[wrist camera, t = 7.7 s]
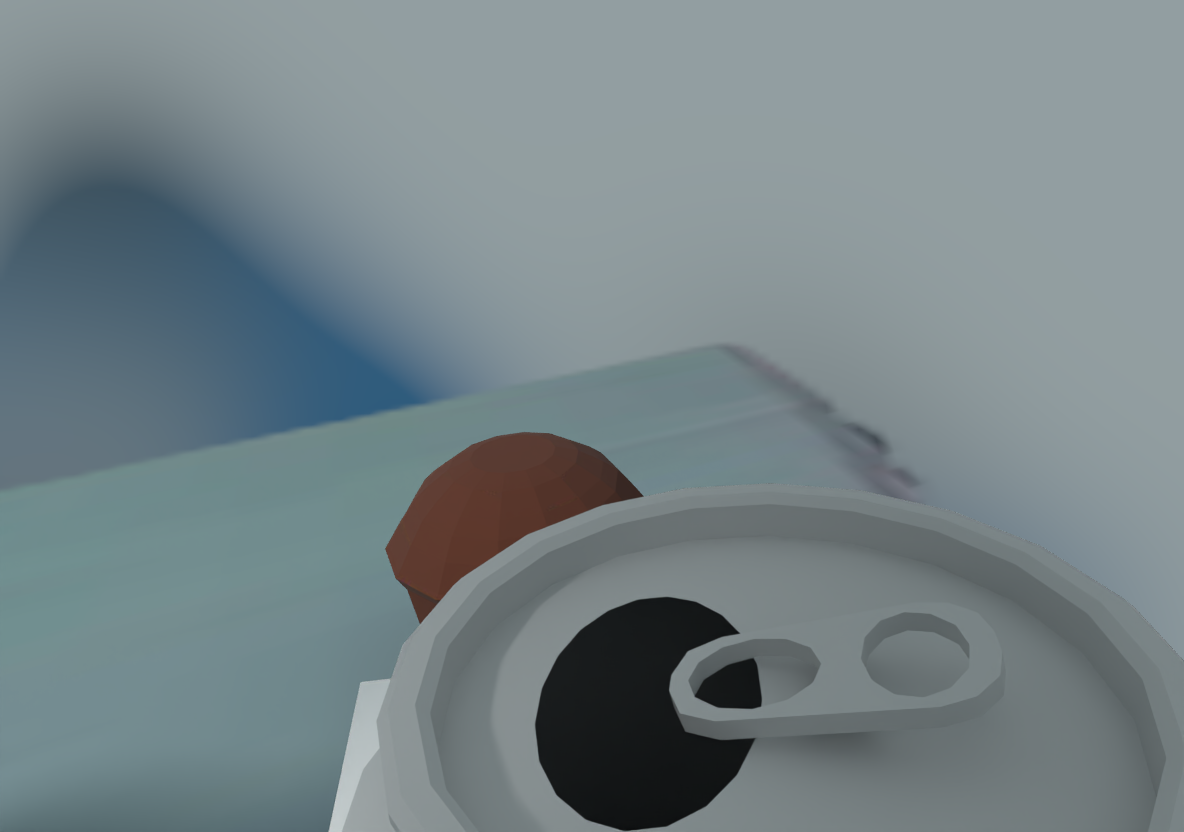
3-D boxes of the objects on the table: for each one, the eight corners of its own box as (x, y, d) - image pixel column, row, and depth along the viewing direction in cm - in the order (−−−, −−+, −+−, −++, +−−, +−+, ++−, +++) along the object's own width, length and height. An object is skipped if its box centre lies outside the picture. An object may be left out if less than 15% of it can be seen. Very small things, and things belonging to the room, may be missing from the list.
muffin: (446, 590, 47) (415, 408, 44) (663, 582, 46) (650, 394, 43) (380, 755, 36) (332, 529, 33) (664, 749, 35) (646, 514, 32)
